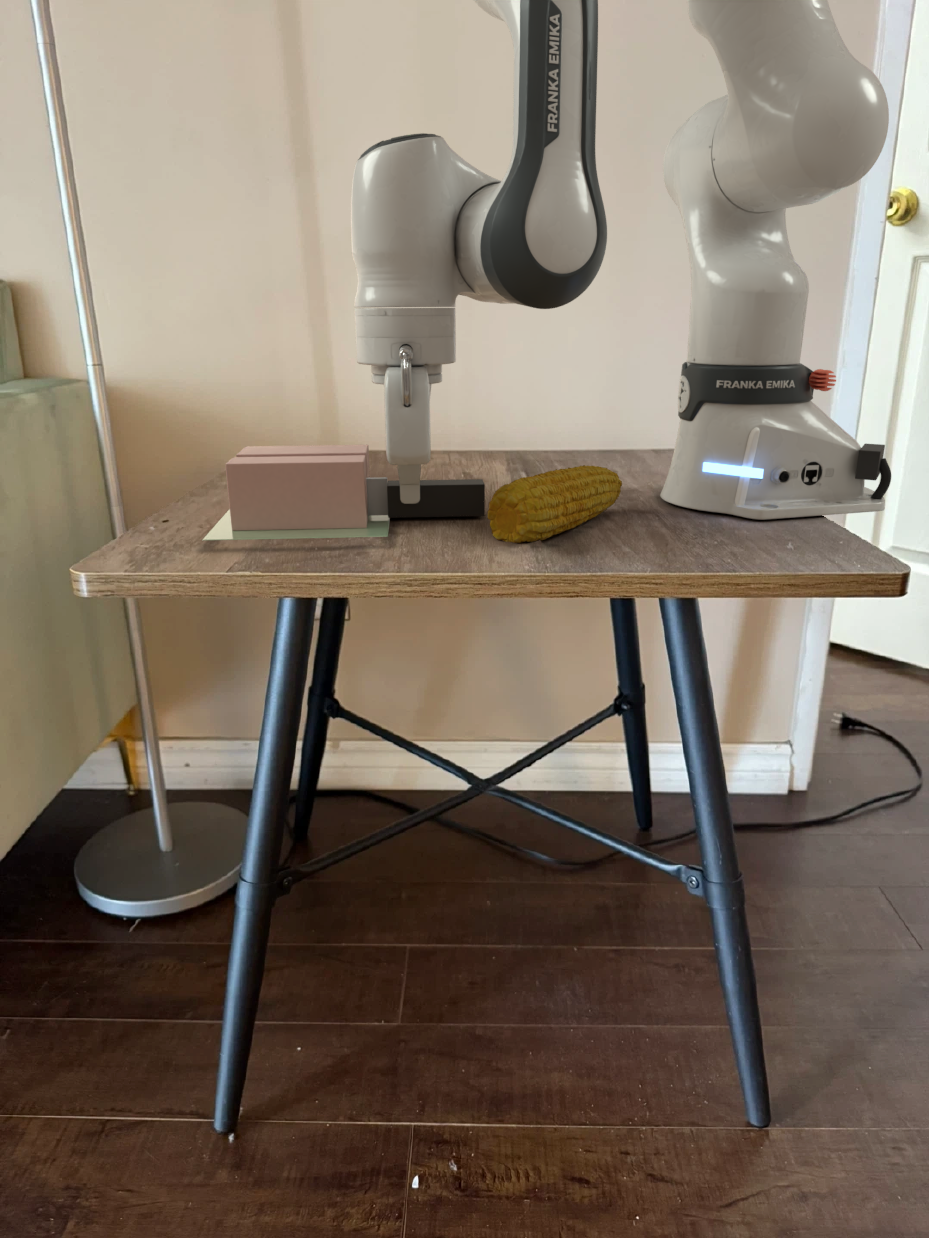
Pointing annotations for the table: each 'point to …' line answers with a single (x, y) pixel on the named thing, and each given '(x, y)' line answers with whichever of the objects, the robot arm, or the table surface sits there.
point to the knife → (427, 498)
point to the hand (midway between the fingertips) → (410, 497)
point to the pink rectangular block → (307, 451)
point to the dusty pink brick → (297, 492)
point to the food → (551, 502)
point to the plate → (299, 531)
